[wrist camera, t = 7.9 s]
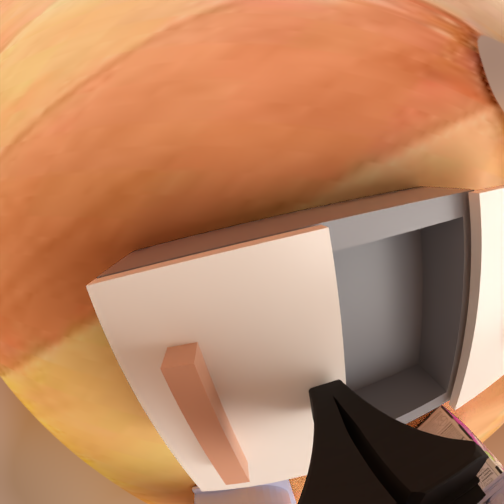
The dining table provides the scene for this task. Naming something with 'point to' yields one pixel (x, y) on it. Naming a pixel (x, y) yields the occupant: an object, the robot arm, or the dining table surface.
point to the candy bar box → (452, 427)
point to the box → (379, 287)
